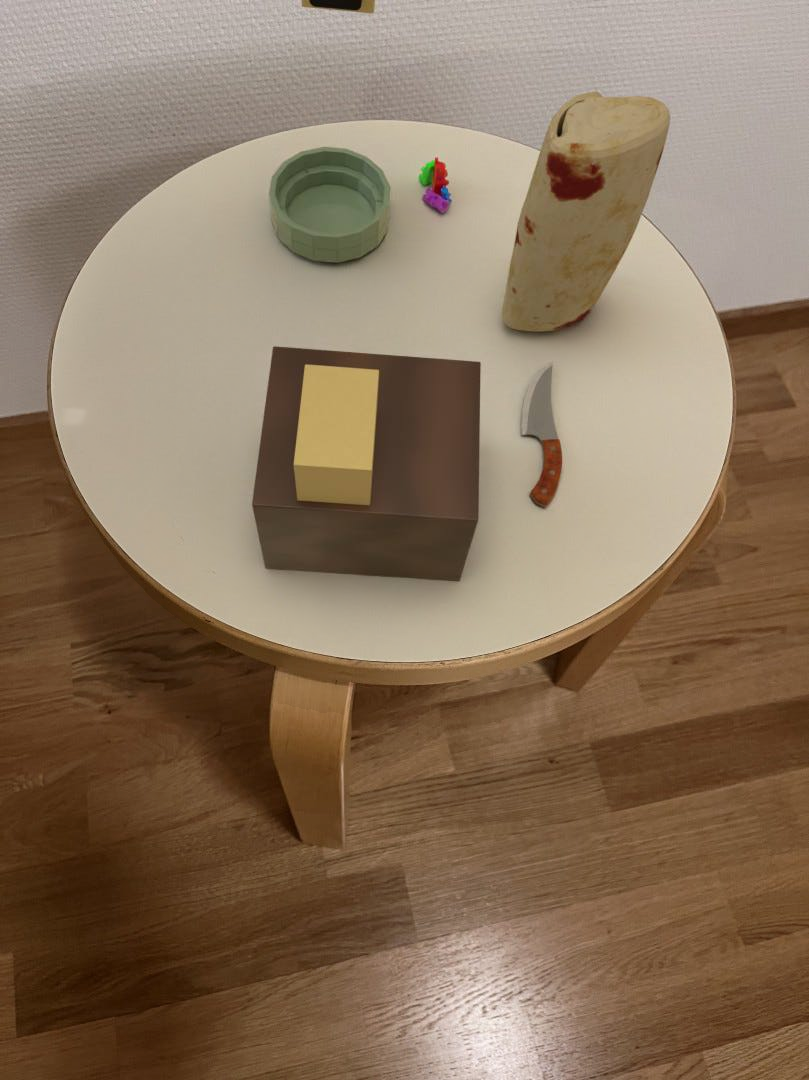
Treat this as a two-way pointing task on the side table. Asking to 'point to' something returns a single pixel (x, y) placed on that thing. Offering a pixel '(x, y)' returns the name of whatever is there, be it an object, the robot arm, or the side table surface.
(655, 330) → the side table surface
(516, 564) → the side table surface
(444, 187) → the multicolored plastic block cluster
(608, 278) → the food model
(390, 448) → the chopping block
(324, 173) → the dish
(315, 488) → the butter
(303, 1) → the butter slice
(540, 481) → the knife
